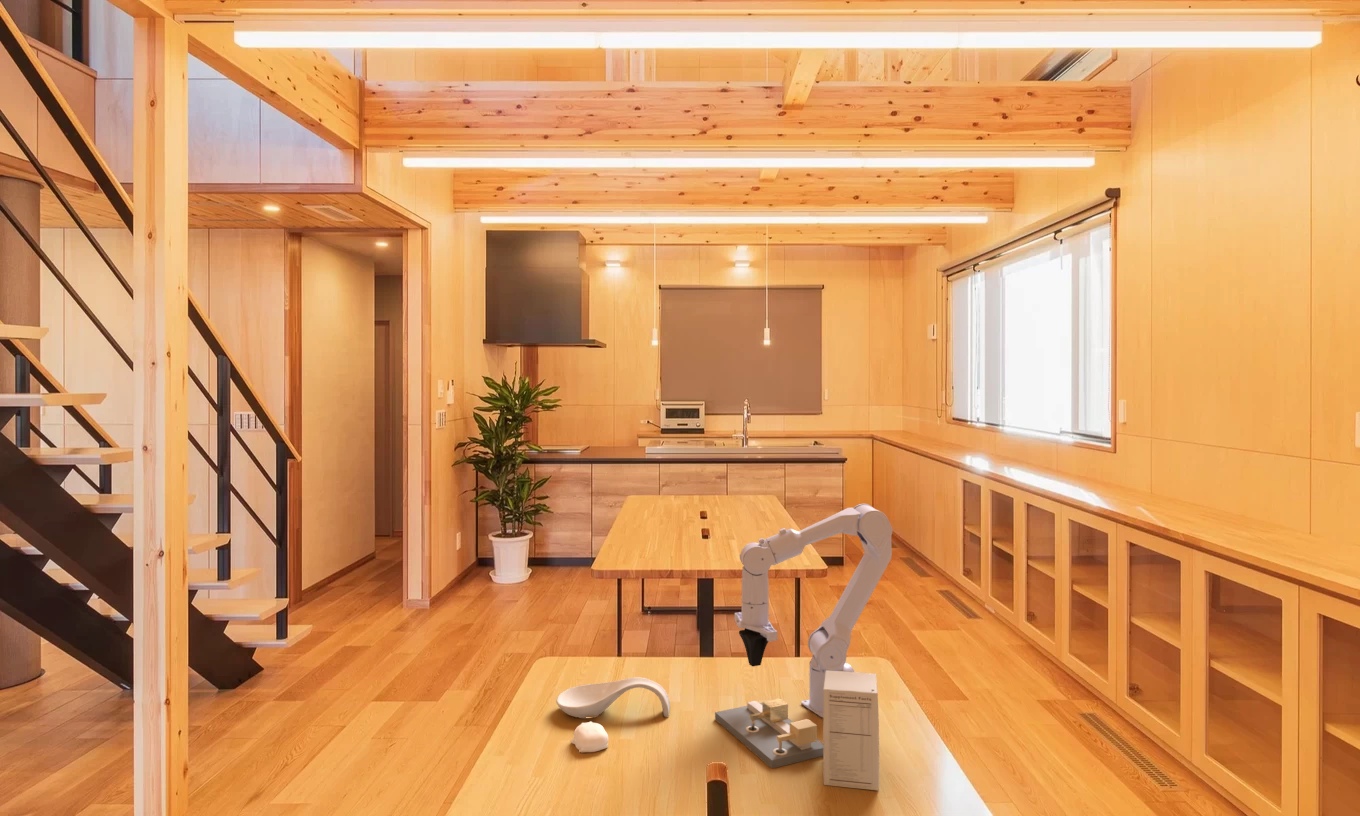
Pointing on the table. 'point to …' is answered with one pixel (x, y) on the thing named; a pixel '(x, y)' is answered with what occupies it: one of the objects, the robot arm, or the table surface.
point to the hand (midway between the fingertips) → (755, 664)
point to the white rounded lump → (590, 737)
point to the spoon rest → (605, 696)
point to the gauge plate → (772, 736)
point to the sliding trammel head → (771, 711)
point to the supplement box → (851, 730)
